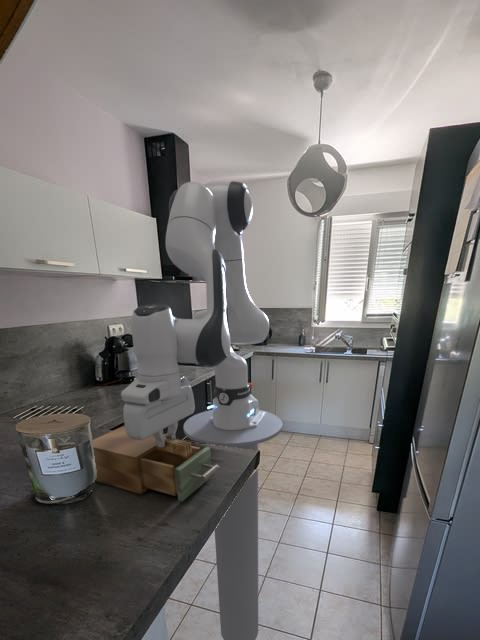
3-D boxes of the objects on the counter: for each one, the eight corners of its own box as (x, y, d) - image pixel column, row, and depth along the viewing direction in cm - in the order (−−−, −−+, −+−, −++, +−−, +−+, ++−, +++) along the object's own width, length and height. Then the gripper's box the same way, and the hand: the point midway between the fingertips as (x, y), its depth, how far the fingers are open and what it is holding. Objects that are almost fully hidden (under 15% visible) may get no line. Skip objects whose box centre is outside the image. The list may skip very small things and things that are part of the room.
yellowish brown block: (155, 450, 83) (154, 439, 82) (162, 446, 85) (161, 436, 84) (185, 456, 79) (184, 446, 78) (191, 452, 81) (191, 442, 80)
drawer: (226, 479, 86) (225, 450, 83) (198, 506, 76) (196, 474, 73) (162, 464, 94) (158, 437, 91) (128, 485, 84) (123, 456, 81)
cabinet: (176, 469, 93) (173, 435, 90) (141, 494, 82) (135, 457, 78) (128, 457, 100) (123, 425, 96) (90, 479, 89) (82, 444, 85)
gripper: (177, 373, 86) (182, 426, 92) (114, 395, 70) (124, 458, 75) (199, 375, 84) (202, 430, 89) (139, 399, 67) (148, 464, 73)
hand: (166, 443), depth 82 cm, fingers closed on yellowish brown block, 2 cm apart
